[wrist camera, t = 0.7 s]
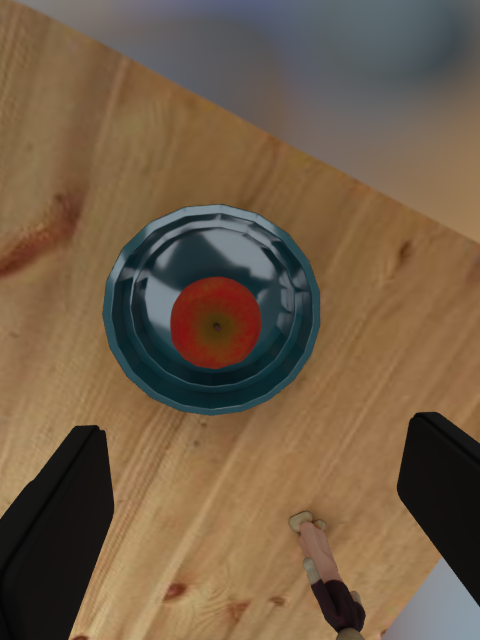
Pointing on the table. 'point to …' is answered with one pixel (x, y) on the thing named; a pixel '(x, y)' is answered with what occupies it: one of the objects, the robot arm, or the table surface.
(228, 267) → the bowl
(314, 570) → the grandmother figurine
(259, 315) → the apple
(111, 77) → the table surface
